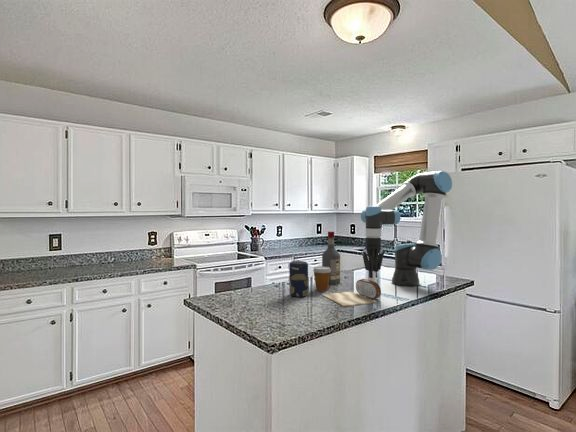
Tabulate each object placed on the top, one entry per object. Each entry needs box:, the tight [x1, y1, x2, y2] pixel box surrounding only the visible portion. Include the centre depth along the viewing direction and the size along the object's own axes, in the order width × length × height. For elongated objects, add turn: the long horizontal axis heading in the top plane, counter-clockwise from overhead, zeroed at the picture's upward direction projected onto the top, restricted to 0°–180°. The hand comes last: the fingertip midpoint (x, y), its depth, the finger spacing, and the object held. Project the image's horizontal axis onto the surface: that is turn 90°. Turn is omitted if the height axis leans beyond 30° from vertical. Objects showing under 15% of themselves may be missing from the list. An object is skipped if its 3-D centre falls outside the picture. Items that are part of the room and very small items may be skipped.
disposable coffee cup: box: [312, 265, 331, 292], centre depth 188 cm, size 10×10×12 cm
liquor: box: [321, 231, 341, 285], centre depth 205 cm, size 9×9×30 cm
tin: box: [355, 278, 382, 300], centre depth 173 cm, size 15×3×8 cm, turn 32°
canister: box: [288, 259, 309, 298], centre depth 176 cm, size 10×10×18 cm
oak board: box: [322, 291, 377, 308], centre depth 169 cm, size 17×21×1 cm
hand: (372, 284), depth 174 cm, fingers closed
